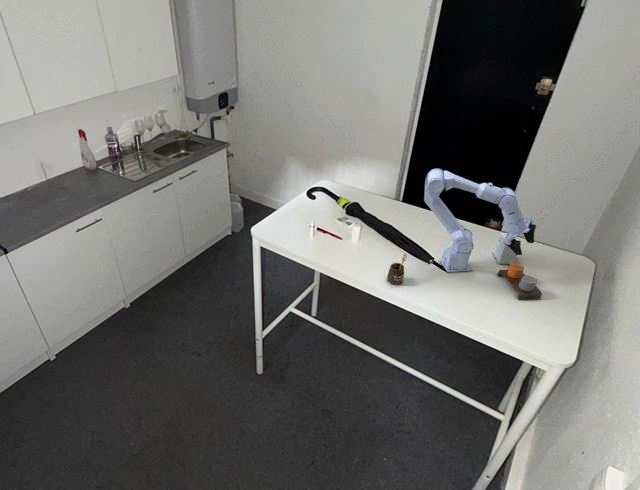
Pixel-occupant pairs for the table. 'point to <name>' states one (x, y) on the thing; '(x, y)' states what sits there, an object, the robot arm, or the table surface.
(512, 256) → the small box
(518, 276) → the orange tape
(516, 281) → the brown rectangular block
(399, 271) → the utensil holder
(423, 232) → the table surface
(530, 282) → the grey tape
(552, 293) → the table surface
